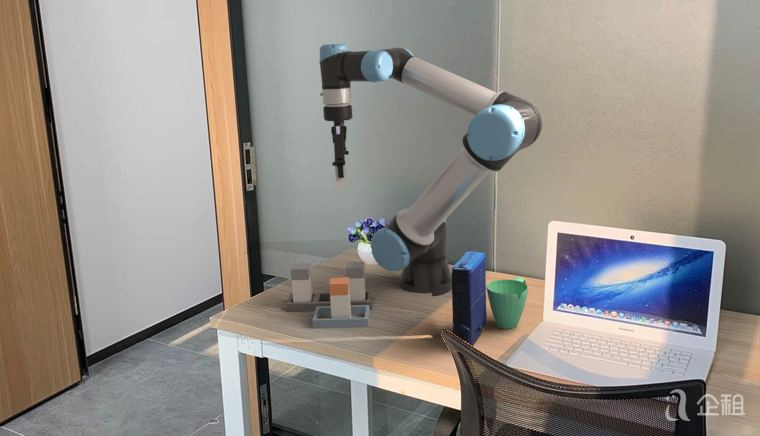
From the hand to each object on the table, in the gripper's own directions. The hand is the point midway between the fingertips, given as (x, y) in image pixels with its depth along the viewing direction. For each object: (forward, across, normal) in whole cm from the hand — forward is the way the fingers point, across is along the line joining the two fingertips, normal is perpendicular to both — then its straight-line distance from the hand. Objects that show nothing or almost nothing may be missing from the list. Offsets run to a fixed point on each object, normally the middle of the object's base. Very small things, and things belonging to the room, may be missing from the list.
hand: (342, 184), depth 184 cm
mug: (+32, +25, +40) cm, 57 cm away
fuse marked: (+31, +21, -2) cm, 37 cm away
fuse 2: (+30, +11, +2) cm, 32 cm away
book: (+32, +33, +29) cm, 54 cm away
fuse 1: (+30, +10, -12) cm, 34 cm away
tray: (+31, +21, -2) cm, 38 cm away
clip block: (+31, +11, -5) cm, 33 cm away
